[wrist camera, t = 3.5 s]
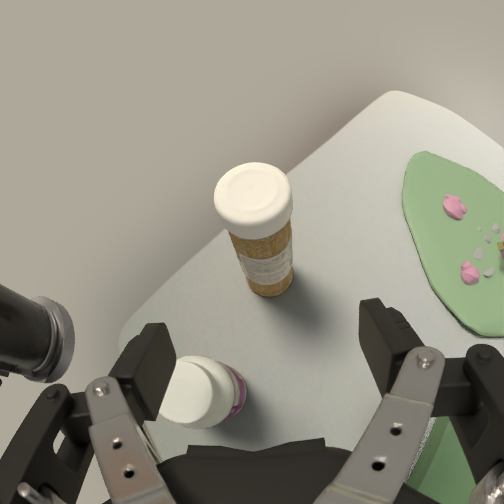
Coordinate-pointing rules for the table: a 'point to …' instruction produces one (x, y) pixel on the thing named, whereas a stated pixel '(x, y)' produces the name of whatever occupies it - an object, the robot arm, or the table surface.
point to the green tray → (443, 467)
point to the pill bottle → (202, 393)
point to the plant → (458, 238)
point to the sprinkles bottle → (258, 224)
